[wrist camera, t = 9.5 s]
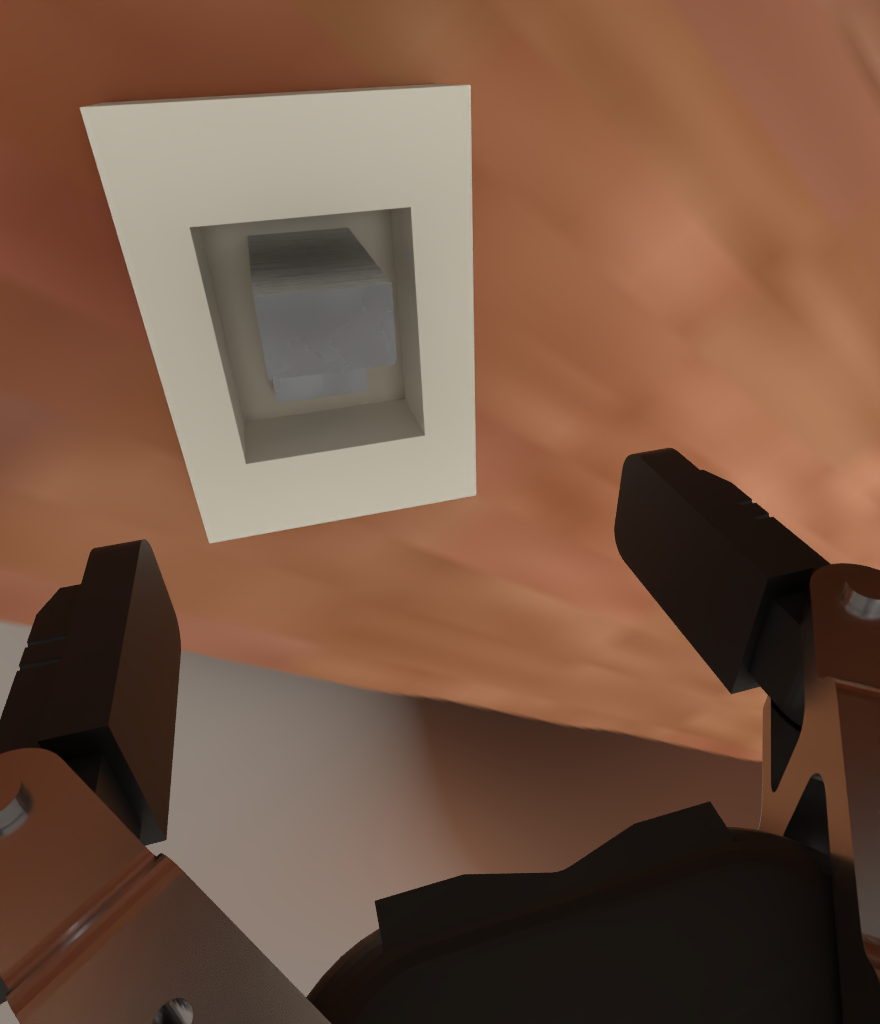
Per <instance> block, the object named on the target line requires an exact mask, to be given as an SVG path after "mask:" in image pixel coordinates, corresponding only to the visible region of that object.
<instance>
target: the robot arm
mask: <svg viewBox="0 0 880 1024" xmlns="http://www.w3.org/2000/svg"><path fill="white" fill-rule="evenodd" d="M614 533H615V540H616V545H617V548H618V551H619V553H620V555H621V557H622V559H623V560H624V562H625V563H626V564H627V565H628V567H629V568H630V569H631V570H632V572H633V573H634V574H635V575H636V577H637V578H638V579H639V580H640V582H641V583H642V584H643V585H644V586H645V588H646V589H647V590H648V591H649V593H650V594H651V595H652V596H653V598H654V599H655V600H656V601H657V603H658V604H659V605H660V606H661V608H662V609H663V610H664V611H665V612H666V614H667V615H668V616H669V617H670V619H671V620H672V621H673V622H674V624H675V625H676V626H677V627H678V629H679V630H680V631H681V632H682V634H683V635H684V636H685V637H686V639H687V640H688V641H689V642H690V643H691V645H692V646H693V647H694V648H695V650H696V651H697V652H698V653H699V655H700V656H701V657H702V658H703V660H704V661H705V662H706V663H707V665H708V666H709V667H710V668H711V670H712V671H713V672H714V673H715V674H716V676H717V677H718V678H719V679H720V681H721V682H722V683H723V684H724V686H725V687H726V688H727V689H728V691H729V692H730V693H731V694H733V693H737V692H741V691H745V690H749V689H752V688H756V687H760V686H761V688H762V689H763V690H764V691H765V692H766V693H767V695H768V696H767V699H766V701H765V704H764V708H763V755H762V812H761V820H760V825H759V830H754V829H746V828H737V827H726V825H725V824H724V822H723V820H722V819H721V818H720V816H719V815H718V813H717V811H716V810H715V808H714V807H713V805H712V804H711V802H707V803H703V804H700V805H696V806H693V807H690V808H686V809H683V810H680V811H676V812H673V813H669V814H666V815H663V816H659V817H656V818H653V819H649V820H646V821H642V822H639V823H636V824H633V825H632V826H630V827H629V828H627V829H626V830H624V831H623V832H621V833H620V834H618V835H617V836H615V837H614V838H612V839H611V840H609V841H608V842H606V843H605V844H603V845H602V846H600V847H599V848H597V849H596V850H594V851H593V852H591V853H590V854H588V855H587V856H585V857H584V858H582V859H581V860H579V861H578V862H576V863H575V864H573V865H572V866H570V867H568V868H567V869H565V870H562V871H559V872H553V873H513V874H466V875H465V874H464V875H460V876H457V877H454V878H450V879H447V880H444V881H440V882H437V883H433V884H430V885H427V886H424V887H420V888H417V889H413V890H410V891H407V892H403V893H400V894H396V895H393V896H390V897H386V898H383V899H380V900H377V901H375V905H376V911H377V917H378V922H379V929H378V930H376V931H375V932H373V933H372V934H370V935H368V936H367V937H365V938H364V939H362V940H361V941H360V942H358V943H357V944H356V945H355V946H353V947H352V948H351V949H350V950H349V951H347V952H346V953H345V954H344V955H343V956H341V957H340V959H339V960H338V961H337V962H336V963H335V964H334V965H333V966H332V967H331V968H330V969H329V970H328V971H327V972H326V973H325V974H324V975H323V976H322V978H321V979H320V980H319V982H318V983H317V984H316V985H315V987H314V988H313V989H312V991H311V992H310V993H309V995H308V996H307V997H305V996H304V995H303V994H302V993H301V992H300V991H299V990H298V989H297V988H296V987H295V986H294V985H293V984H292V983H291V982H290V981H289V980H288V979H287V978H286V977H285V975H284V974H283V973H282V972H281V971H280V970H279V969H278V968H277V967H276V966H275V965H274V964H273V963H272V962H271V961H270V960H269V959H268V958H267V957H266V956H265V955H264V954H263V953H262V952H261V951H260V950H259V949H258V948H257V947H256V946H255V945H254V944H253V942H251V941H250V940H249V939H248V937H247V936H246V935H245V934H244V933H243V932H242V931H241V930H240V929H239V928H238V927H237V926H236V925H235V924H234V923H233V922H232V921H231V920H230V919H229V918H228V917H227V916H226V915H225V914H224V913H223V912H222V911H221V910H220V908H218V906H217V905H216V904H215V903H214V902H213V901H212V900H211V899H210V898H209V897H208V896H207V895H206V894H205V893H204V892H203V891H202V890H201V889H200V888H199V887H198V886H197V885H196V884H195V883H194V882H193V881H192V880H191V879H190V878H189V877H188V876H187V875H186V873H185V872H184V871H183V870H182V869H181V868H179V866H178V865H177V864H175V863H174V862H173V861H172V860H171V859H170V858H168V857H167V856H166V855H164V854H162V853H161V854H159V855H158V856H157V857H156V856H155V855H154V854H152V853H151V852H150V851H149V850H148V849H147V848H146V847H145V845H149V844H153V843H157V842H161V841H164V840H166V838H167V825H168V811H169V799H170V785H171V772H172V760H173V747H174V734H175V720H176V708H177V695H178V683H179V682H178V681H179V670H180V669H179V668H180V655H181V641H180V632H179V626H178V622H177V618H176V614H175V611H174V608H173V605H172V603H171V600H170V597H169V594H168V592H167V589H166V586H165V583H164V581H163V578H162V575H161V572H160V570H159V567H158V564H157V561H156V558H155V556H154V553H153V550H152V548H151V546H150V544H149V543H148V541H147V540H138V541H132V542H127V543H121V544H116V545H110V546H104V547H99V548H94V549H92V550H91V552H90V555H89V558H88V562H87V565H86V569H85V572H84V576H83V580H82V583H81V584H80V585H74V586H69V587H63V588H60V589H59V590H58V591H57V592H56V593H55V594H54V596H53V597H52V598H51V599H50V600H49V601H48V602H47V603H46V605H45V606H44V607H43V608H42V609H41V610H40V611H39V612H38V614H37V615H36V618H35V621H34V624H33V626H32V629H31V632H30V635H29V638H28V641H27V643H28V647H27V648H25V650H24V652H23V655H22V658H21V661H20V664H19V666H20V671H17V673H16V676H15V678H14V682H13V684H12V687H11V690H10V693H9V696H8V699H7V701H6V704H5V707H4V710H3V713H2V716H1V719H0V1004H2V1003H3V1002H5V1001H8V1003H9V1005H10V1007H11V1009H12V1011H13V1013H14V1014H15V1016H16V1018H17V1019H18V1021H19V1023H20V1024H880V570H878V569H875V568H871V567H867V566H863V565H858V564H848V563H838V564H830V563H829V562H828V561H826V560H825V559H824V558H823V557H821V556H820V555H819V554H818V553H817V552H815V551H814V550H813V549H812V548H810V547H809V546H808V545H807V544H806V543H804V542H803V541H802V540H801V539H799V538H798V537H797V536H796V535H795V534H793V533H792V532H791V531H790V530H789V529H787V528H786V527H785V526H784V525H782V524H781V523H780V522H779V521H778V520H776V519H775V518H774V517H769V513H768V512H767V511H765V510H764V509H763V508H762V507H761V506H759V505H758V504H757V503H752V499H751V498H750V497H748V496H747V495H746V494H745V493H743V492H742V491H741V490H740V489H739V488H737V487H736V486H735V485H734V484H733V483H731V482H729V481H727V480H725V479H722V478H720V477H718V476H716V475H714V474H711V473H709V472H707V471H705V470H699V469H698V468H697V467H696V466H694V465H693V464H692V463H691V462H690V461H688V460H687V459H686V458H685V457H684V456H683V455H681V454H680V453H679V452H678V451H676V450H675V449H673V448H665V449H659V450H654V451H648V452H642V453H637V454H632V455H629V456H628V457H627V458H626V460H625V461H624V464H623V469H622V476H621V483H620V490H619V498H618V505H617V512H616V519H615V528H614Z"/></svg>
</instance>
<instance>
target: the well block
mask: <svg viewBox="0 0 880 1024" xmlns="http://www.w3.org/2000/svg"><path fill="white" fill-rule="evenodd" d="M80 110H81V114H82V117H83V121H84V124H85V127H86V131H87V134H88V137H89V141H90V144H91V147H92V151H93V154H94V157H95V161H96V164H97V168H98V171H99V174H100V178H101V181H102V184H103V188H104V191H105V194H106V198H107V201H108V205H109V208H110V211H111V215H112V218H113V221H114V225H115V228H116V231H117V235H118V238H119V241H120V245H121V248H122V252H123V255H124V258H125V262H126V265H127V268H128V272H129V275H130V278H131V282H132V285H133V289H134V292H135V295H136V299H137V302H138V305H139V309H140V312H141V315H142V319H143V322H144V325H145V329H146V332H147V336H148V339H149V342H150V346H151V349H152V352H153V356H154V359H155V362H156V366H157V369H158V373H159V376H160V379H161V383H162V386H163V389H164V393H165V396H166V399H167V403H168V406H169V409H170V413H171V416H172V420H173V423H174V426H175V430H176V433H177V436H178V440H179V443H180V446H181V450H182V453H183V457H184V460H185V463H186V467H187V470H188V473H189V477H190V480H191V483H192V487H193V490H194V494H195V497H196V500H197V504H198V507H199V510H200V514H201V517H202V520H203V524H204V527H205V530H206V534H207V537H208V541H209V543H215V542H220V541H226V540H231V539H237V538H242V537H248V536H253V535H259V534H264V533H270V532H276V531H281V530H287V529H292V528H298V527H303V526H309V525H314V524H320V523H325V522H331V521H337V520H342V519H348V518H353V517H359V516H364V515H370V514H375V513H381V512H386V511H392V510H398V509H403V508H409V507H414V506H420V505H425V504H431V503H436V502H442V501H447V500H453V499H459V498H464V497H470V496H475V495H476V445H475V373H474V300H473V228H472V156H471V85H458V84H424V85H406V86H388V87H370V88H353V89H335V90H317V91H299V92H282V93H264V94H246V95H228V96H211V97H193V98H175V99H157V100H140V101H122V102H104V103H99V104H94V105H89V106H84V107H80ZM335 228H349V229H350V230H351V232H352V233H353V234H354V236H355V237H356V238H357V239H358V241H359V242H360V243H361V245H362V246H363V247H364V248H365V250H366V251H367V252H368V254H369V255H370V256H371V257H372V259H373V260H374V261H375V263H376V264H377V265H378V266H379V268H380V269H381V270H382V272H383V273H384V274H385V275H386V277H387V278H388V279H389V281H390V282H391V283H392V294H393V309H394V323H395V338H396V353H397V365H389V366H381V367H373V368H367V378H368V389H369V391H366V392H358V393H350V394H343V395H335V396H327V397H320V398H312V399H305V400H297V401H289V402H282V403H277V401H276V395H275V390H274V384H273V380H269V379H268V374H267V369H266V363H265V358H264V352H263V347H262V342H261V336H260V331H259V325H258V320H257V314H256V309H255V304H254V298H253V289H252V279H251V268H250V258H249V248H248V238H247V236H249V235H261V234H274V233H286V232H298V231H311V230H323V229H335Z"/></svg>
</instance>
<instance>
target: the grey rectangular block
mask: <svg viewBox="0 0 880 1024" xmlns="http://www.w3.org/2000/svg"><path fill="white" fill-rule="evenodd" d="M247 238H248V248H249V258H250V268H251V279H252V289H253V298H254V304H255V309H256V314H257V320H258V325H259V331H260V336H261V342H262V347H263V352H264V358H265V363H266V369H267V374H268V379H269V380H273V384H274V390H275V395H276V401H277V403H282V402H289V401H297V400H305V399H312V398H320V397H327V396H335V395H343V394H350V393H358V392H366V391H369V389H368V378H367V368H373V367H381V366H389V365H397V353H396V338H395V323H394V309H393V294H392V283H391V282H390V281H389V279H388V278H387V277H386V275H385V274H384V273H383V272H382V270H381V269H380V268H379V266H378V265H377V264H376V263H375V261H374V260H373V259H372V257H371V256H370V255H369V254H368V252H367V251H366V250H365V248H364V247H363V246H362V245H361V243H360V242H359V241H358V239H357V238H356V237H355V236H354V234H353V233H352V232H351V230H350V229H349V228H335V229H323V230H311V231H298V232H286V233H274V234H261V235H249V236H247Z"/></svg>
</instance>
